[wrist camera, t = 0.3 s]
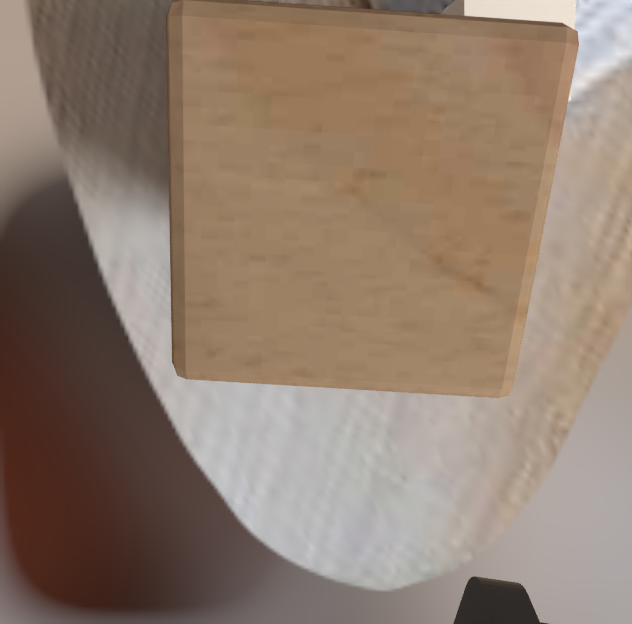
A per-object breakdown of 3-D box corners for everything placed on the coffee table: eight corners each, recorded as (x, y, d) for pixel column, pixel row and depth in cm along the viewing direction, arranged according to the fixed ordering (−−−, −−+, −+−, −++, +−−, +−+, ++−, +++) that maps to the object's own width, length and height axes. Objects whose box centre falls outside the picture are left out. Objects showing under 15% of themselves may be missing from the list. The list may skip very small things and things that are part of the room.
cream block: (437, 15, 31) (464, -9, 26) (529, 6, 31) (577, -19, 25) (438, 111, 33) (464, 110, 27) (526, 104, 33) (570, 100, 27)
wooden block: (254, 66, 32) (160, -10, 13) (431, 79, 32) (592, 20, 13) (249, 242, 35) (168, 385, 16) (410, 252, 35) (516, 405, 16)
